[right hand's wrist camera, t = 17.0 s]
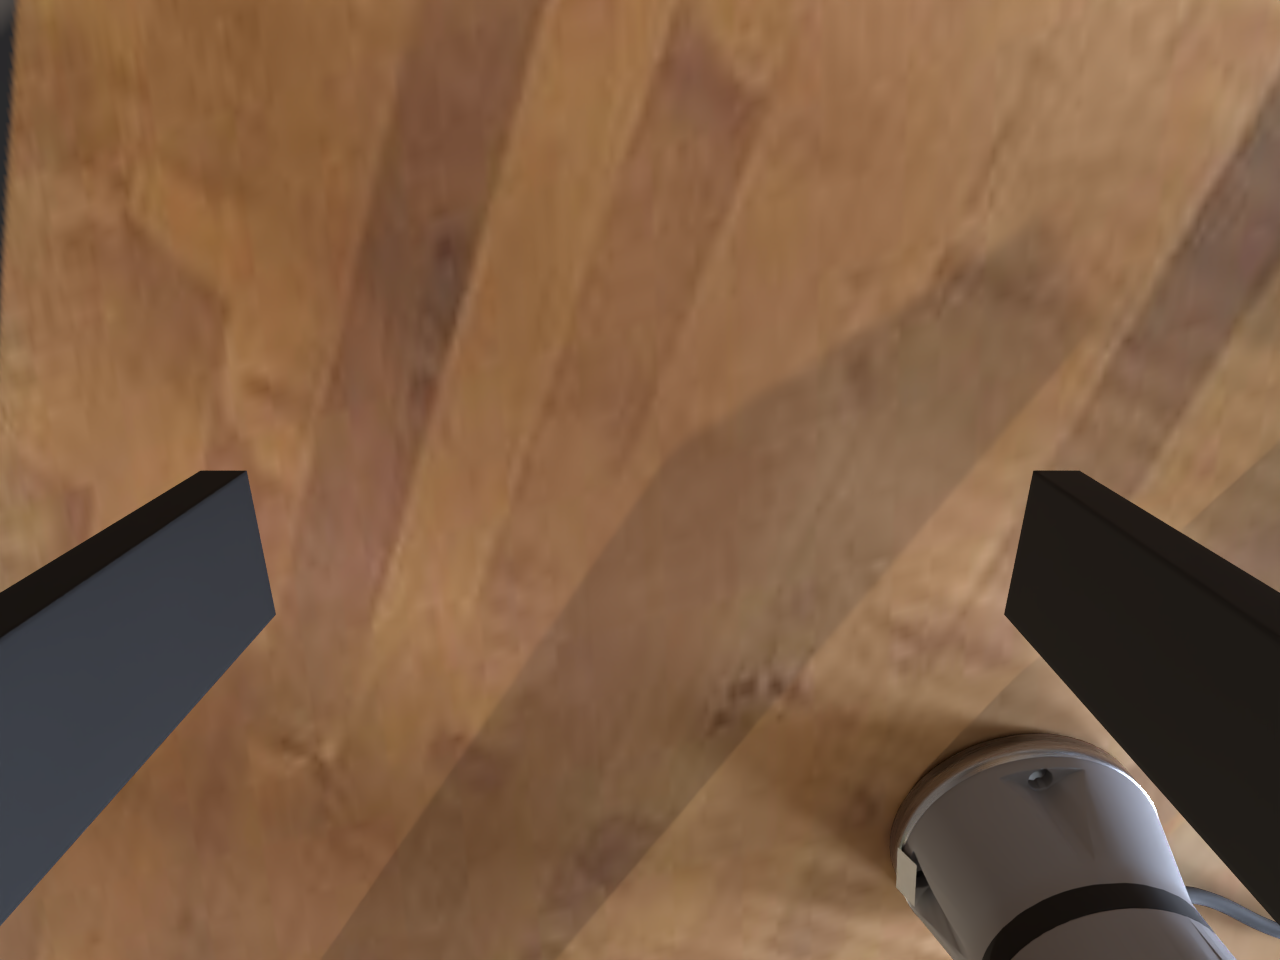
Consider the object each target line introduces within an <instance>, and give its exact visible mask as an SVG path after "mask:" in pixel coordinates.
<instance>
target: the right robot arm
mask: <svg viewBox="0 0 1280 960" xmlns="http://www.w3.org/2000/svg"><path fill="white" fill-rule="evenodd" d="M275 615H276V613H275V608H274V603H273V598H272V593H271V589H270V584H269V579H268V574H267V569H266V564H265V559H264V554H263V549H262V544H261V539H260V534H259V529H258V525H257V520H256V515H255V510H254V505H253V500H252V495H251V490H250V485H249V480H248V475H247V471H199V472H198V473H196V474H194V475H193V476H191V477H190V478H188V479H186V480H185V481H183V482H181V483H180V484H178V485H176V486H175V487H173V488H171V489H170V490H168V491H167V492H165V493H163V494H162V495H160V496H158V497H157V498H155V499H153V500H152V501H150V502H149V503H147V504H145V505H144V506H142V507H140V508H139V509H137V510H135V511H134V512H132V513H130V514H129V515H127V516H126V517H124V518H122V519H121V520H119V521H117V522H116V523H114V524H112V525H111V526H109V527H107V528H106V529H104V530H103V531H101V532H99V533H98V534H96V535H94V536H93V537H91V538H89V539H88V540H86V541H85V542H83V543H81V544H80V545H78V546H76V547H75V548H73V549H71V550H70V551H68V552H66V553H65V554H63V555H62V556H60V557H58V558H57V559H55V560H53V561H52V562H50V563H48V564H47V565H45V566H44V567H42V568H40V569H39V570H37V571H35V572H34V573H32V574H30V575H29V576H27V577H25V578H24V579H22V580H21V581H19V582H17V583H16V584H14V585H12V586H11V587H9V588H7V589H6V590H4V591H2V592H1V593H0V926H1V924H2V923H3V922H4V921H5V920H6V919H7V918H8V916H9V915H10V914H11V913H12V912H13V911H14V910H15V909H16V907H17V906H18V905H19V904H20V903H21V902H22V901H23V900H24V898H25V897H26V896H27V895H28V894H29V893H30V892H31V890H32V889H33V888H34V887H35V886H36V885H37V884H38V883H39V881H40V880H41V879H42V878H43V877H44V876H45V875H46V874H47V872H48V871H49V870H50V869H51V868H52V867H53V866H54V865H55V863H56V862H57V861H58V860H59V859H60V858H61V857H62V855H63V854H64V853H65V852H66V851H67V850H68V849H69V848H70V846H71V845H72V844H73V843H74V842H75V841H76V840H77V839H78V837H79V836H80V835H81V834H82V833H83V832H84V831H85V829H86V828H87V827H88V826H89V825H90V824H91V823H92V822H93V820H94V819H95V818H96V817H97V816H98V815H99V814H100V813H101V811H102V810H103V809H104V808H105V807H106V806H107V805H108V803H109V802H110V801H111V800H112V799H113V798H114V797H115V796H116V794H117V793H118V792H119V791H120V790H121V789H122V788H123V787H124V785H125V784H126V783H127V782H128V781H129V780H130V779H131V778H132V776H133V775H134V774H135V773H136V772H137V771H138V770H139V768H140V767H141V766H142V765H143V764H144V763H145V762H146V761H147V759H148V758H149V757H150V756H151V755H152V754H153V753H154V752H155V750H156V749H157V748H158V747H159V746H160V745H161V744H162V742H163V741H164V740H165V739H166V738H167V737H168V736H169V735H170V733H171V732H172V731H173V730H174V729H175V728H176V727H177V726H178V724H179V723H180V722H181V721H182V720H183V719H184V718H185V716H186V715H187V714H188V713H189V712H190V711H191V710H192V709H193V707H194V706H195V705H196V704H197V703H198V702H199V701H200V700H201V698H202V697H203V696H204V695H205V694H206V693H207V692H208V691H209V689H210V688H211V687H212V686H213V685H214V684H215V683H216V681H217V680H218V679H219V678H220V677H221V676H222V675H223V674H224V672H225V671H226V670H227V669H228V668H229V667H230V666H231V665H232V663H233V662H234V661H235V660H236V659H237V658H238V657H239V655H240V654H241V653H242V652H243V651H244V650H245V649H246V648H247V646H248V645H249V644H250V643H251V642H252V641H253V640H254V639H255V637H256V636H257V635H258V634H259V633H260V632H261V631H262V629H263V628H264V627H265V626H266V625H267V624H268V623H269V622H270V620H271V619H272V618H273V617H274V616H275ZM1004 615H1005V616H1006V617H1007V618H1008V619H1009V620H1010V622H1011V623H1012V624H1013V625H1014V626H1015V627H1016V628H1017V629H1018V631H1019V632H1020V633H1021V634H1022V635H1023V636H1024V637H1025V639H1026V640H1027V641H1028V642H1029V643H1030V644H1031V645H1032V646H1033V648H1034V649H1035V650H1036V651H1037V652H1038V653H1039V654H1040V655H1041V657H1042V658H1043V659H1044V660H1045V661H1046V662H1047V663H1048V665H1049V666H1050V667H1051V668H1052V669H1053V670H1054V671H1055V672H1056V674H1057V675H1058V676H1059V677H1060V678H1061V679H1062V680H1063V681H1064V683H1065V684H1066V685H1067V686H1068V687H1069V688H1070V689H1071V691H1072V692H1073V693H1074V694H1075V695H1076V696H1077V697H1078V698H1079V700H1080V701H1081V702H1082V703H1083V704H1084V705H1085V706H1086V707H1087V709H1088V710H1089V711H1090V712H1091V713H1092V714H1093V715H1094V716H1095V718H1096V719H1097V720H1098V721H1099V722H1100V723H1101V724H1102V726H1103V727H1104V728H1105V729H1106V730H1107V731H1108V732H1109V733H1110V735H1111V736H1112V737H1113V738H1114V739H1115V740H1116V741H1117V742H1118V744H1119V745H1120V746H1121V747H1122V748H1123V749H1124V750H1125V752H1126V753H1127V754H1128V755H1129V756H1130V757H1131V758H1132V759H1133V761H1134V762H1135V763H1136V764H1137V765H1138V766H1139V767H1140V768H1141V770H1142V771H1143V772H1144V773H1145V774H1146V775H1147V776H1148V778H1149V779H1150V780H1151V781H1152V782H1153V783H1154V784H1155V785H1156V787H1157V788H1158V789H1159V790H1160V791H1161V792H1162V793H1163V794H1164V796H1165V797H1166V798H1167V799H1168V800H1169V801H1170V802H1171V803H1172V805H1173V806H1174V807H1175V808H1176V809H1177V810H1178V811H1179V813H1180V814H1181V815H1182V816H1183V817H1184V818H1185V819H1186V820H1187V822H1188V823H1189V824H1190V825H1191V826H1192V827H1193V828H1194V829H1195V831H1196V832H1197V833H1198V834H1199V835H1200V836H1201V837H1202V839H1203V840H1204V841H1205V842H1206V843H1207V844H1208V845H1209V846H1210V848H1211V849H1212V850H1213V851H1214V852H1215V853H1216V854H1217V855H1218V857H1219V858H1220V859H1221V860H1222V861H1223V862H1224V863H1225V865H1226V866H1227V867H1228V868H1229V869H1230V870H1231V871H1232V872H1233V874H1234V875H1235V876H1236V877H1237V878H1238V879H1239V880H1240V881H1241V883H1242V884H1243V885H1244V886H1245V887H1246V888H1247V889H1248V890H1249V892H1250V893H1251V894H1252V895H1253V896H1254V897H1255V898H1256V900H1257V901H1258V902H1259V903H1260V904H1261V905H1262V906H1263V907H1264V909H1265V910H1266V911H1267V912H1268V913H1269V914H1270V915H1271V916H1272V918H1273V919H1274V920H1275V921H1276V922H1274V921H1272V920H1269V919H1267V918H1265V917H1262V916H1260V915H1258V914H1256V913H1254V912H1252V911H1250V910H1249V909H1247V908H1245V907H1243V906H1241V905H1239V904H1237V903H1235V902H1233V901H1231V900H1229V899H1227V898H1224V897H1222V896H1220V895H1217V894H1214V893H1212V892H1209V891H1205V890H1202V889H1199V888H1194V887H1187V886H1185V885H1184V883H1183V880H1182V877H1181V875H1180V872H1179V870H1178V867H1177V865H1176V862H1175V859H1174V857H1173V854H1172V852H1171V849H1170V846H1169V844H1168V841H1167V839H1166V836H1165V834H1164V831H1163V828H1162V826H1161V823H1160V821H1159V818H1158V815H1157V812H1156V809H1155V807H1154V805H1153V803H1152V801H1151V799H1150V798H1149V797H1148V795H1147V794H1146V792H1145V791H1144V790H1143V789H1142V788H1141V786H1140V785H1139V784H1138V783H1137V782H1136V781H1135V779H1134V778H1133V777H1132V776H1131V775H1130V774H1129V773H1128V771H1127V770H1126V769H1125V768H1124V767H1123V766H1122V765H1121V764H1120V763H1119V762H1118V761H1117V760H1116V759H1115V758H1114V757H1112V756H1111V755H1110V754H1108V753H1107V752H1105V751H1104V750H1102V749H1100V748H1098V747H1096V746H1094V745H1092V744H1090V743H1087V742H1084V741H1082V740H1078V739H1075V738H1071V737H1066V736H1061V735H1052V734H1021V735H1013V736H1007V737H1002V738H998V739H993V740H990V741H987V742H983V743H980V744H978V745H975V746H972V747H970V748H968V749H965V750H963V751H961V752H959V753H957V754H955V755H954V756H952V757H950V758H948V759H947V760H945V761H944V762H942V763H941V764H939V765H938V766H936V767H935V768H934V769H932V770H931V771H930V772H929V773H927V774H926V775H925V776H924V777H923V778H922V779H921V780H920V781H919V782H918V783H917V784H916V785H915V786H914V788H913V789H912V790H911V791H910V792H909V794H908V795H907V797H906V798H905V799H904V801H903V803H902V804H901V806H900V808H899V810H898V812H897V814H896V817H895V819H894V823H893V826H892V830H891V836H890V855H891V860H892V864H893V867H894V870H895V873H896V875H897V877H896V888H897V889H898V890H899V891H900V892H901V893H902V894H903V895H904V896H905V898H906V900H907V902H908V904H909V906H910V907H911V909H912V910H913V912H914V913H915V914H916V915H917V916H918V917H919V918H920V920H921V921H922V922H923V923H924V924H925V926H926V927H927V928H928V929H929V931H930V932H931V933H932V934H933V935H934V937H935V938H936V939H937V940H938V941H939V943H940V944H941V945H942V946H943V948H944V949H945V950H946V951H947V952H948V954H949V955H950V956H951V957H952V959H953V960H1236V959H1235V958H1234V956H1233V955H1232V954H1231V953H1230V951H1229V950H1228V949H1227V948H1226V946H1225V945H1224V944H1223V943H1222V941H1221V940H1220V939H1219V938H1218V936H1217V935H1216V934H1215V933H1214V932H1213V930H1212V929H1211V928H1210V926H1209V925H1208V924H1207V923H1206V921H1205V920H1204V919H1203V917H1202V916H1201V915H1200V914H1199V912H1198V911H1197V910H1196V908H1195V907H1194V906H1193V904H1198V905H1203V906H1206V907H1210V908H1213V909H1215V910H1218V911H1220V912H1222V913H1224V914H1226V915H1228V916H1230V917H1232V918H1234V919H1236V920H1238V921H1240V922H1242V923H1244V924H1246V925H1248V926H1250V927H1252V928H1254V929H1256V930H1258V931H1261V932H1263V933H1265V934H1268V935H1271V936H1273V937H1276V938H1279V939H1280V593H1279V592H1278V591H1276V590H1274V589H1273V588H1271V587H1269V586H1268V585H1266V584H1264V583H1263V582H1261V581H1259V580H1258V579H1256V578H1255V577H1253V576H1251V575H1250V574H1248V573H1246V572H1245V571H1243V570H1241V569H1240V568H1238V567H1236V566H1235V565H1233V564H1232V563H1230V562H1228V561H1227V560H1225V559H1223V558H1222V557H1220V556H1218V555H1217V554H1215V553H1214V552H1212V551H1210V550H1209V549H1207V548H1205V547H1204V546H1202V545H1200V544H1199V543H1197V542H1195V541H1194V540H1192V539H1191V538H1189V537H1187V536H1186V535H1184V534H1182V533H1181V532H1179V531H1177V530H1176V529H1174V528H1173V527H1171V526H1169V525H1168V524H1166V523H1164V522H1163V521H1161V520H1159V519H1158V518H1156V517H1154V516H1153V515H1151V514H1150V513H1148V512H1146V511H1145V510H1143V509H1141V508H1140V507H1138V506H1136V505H1135V504H1133V503H1131V502H1130V501H1128V500H1127V499H1125V498H1123V497H1122V496H1120V495H1118V494H1117V493H1115V492H1113V491H1112V490H1110V489H1109V488H1107V487H1105V486H1104V485H1102V484H1100V483H1099V482H1097V481H1095V480H1094V479H1092V478H1090V477H1089V476H1087V475H1086V474H1084V473H1082V472H1081V471H1033V475H1032V480H1031V485H1030V490H1029V495H1028V500H1027V505H1026V510H1025V515H1024V520H1023V525H1022V529H1021V534H1020V539H1019V544H1018V549H1017V554H1016V559H1015V564H1014V569H1013V574H1012V579H1011V584H1010V589H1009V593H1008V598H1007V603H1006V608H1005V613H1004Z"/></svg>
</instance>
